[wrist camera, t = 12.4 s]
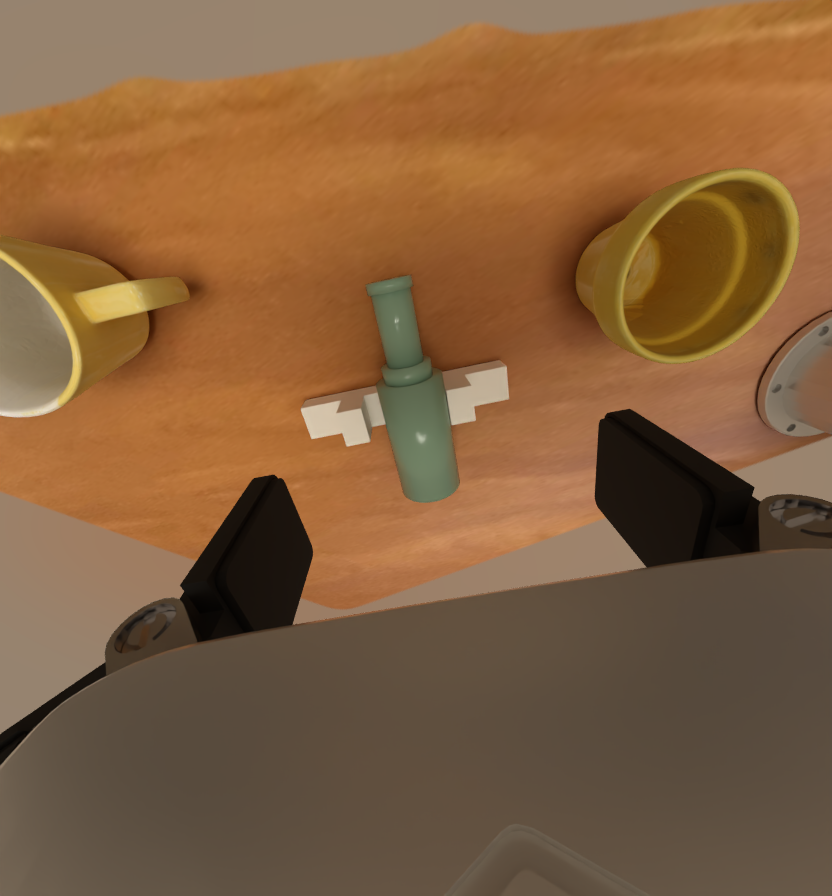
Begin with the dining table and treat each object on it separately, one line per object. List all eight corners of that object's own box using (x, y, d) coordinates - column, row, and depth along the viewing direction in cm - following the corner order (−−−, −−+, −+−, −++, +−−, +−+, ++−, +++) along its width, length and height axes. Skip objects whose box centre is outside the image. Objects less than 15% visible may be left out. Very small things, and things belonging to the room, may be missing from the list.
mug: (67, 372, 30) (-76, 420, 21) (5, 232, 26) (-214, 215, 16) (232, 371, 31) (164, 417, 22) (201, 236, 26) (98, 221, 17)
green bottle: (434, 463, 35) (397, 275, 27) (472, 480, 31) (441, 268, 23) (391, 487, 33) (337, 290, 25) (426, 510, 29) (375, 284, 21)
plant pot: (621, 356, 33) (704, 390, 24) (527, 305, 30) (582, 322, 21) (705, 238, 28) (842, 227, 20) (606, 167, 26) (712, 119, 17)
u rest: (499, 359, 32) (517, 376, 27) (502, 391, 33) (519, 411, 29) (305, 400, 33) (291, 422, 28) (316, 429, 34) (304, 455, 29)
